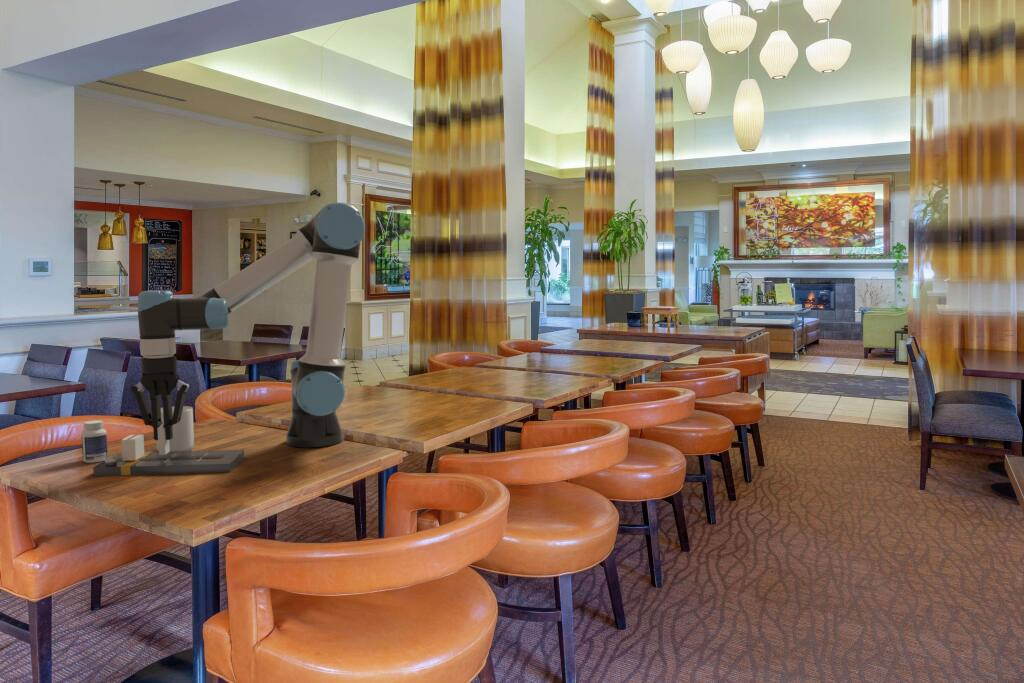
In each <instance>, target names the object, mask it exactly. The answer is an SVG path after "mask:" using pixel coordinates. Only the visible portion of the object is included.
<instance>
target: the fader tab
mask: <svg viewBox="0 0 1024 683" xmlns="http://www.w3.org/2000/svg"><path fill="white" fill-rule="evenodd" d="M144 436H145V435H144V434H130V435H128V436H126V437H124V438H123V439H121V442H120V444H121V453H122V461H129V460H137V459H139V458H140V457H142V456H143V455H144V452H145V440H144Z"/></svg>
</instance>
